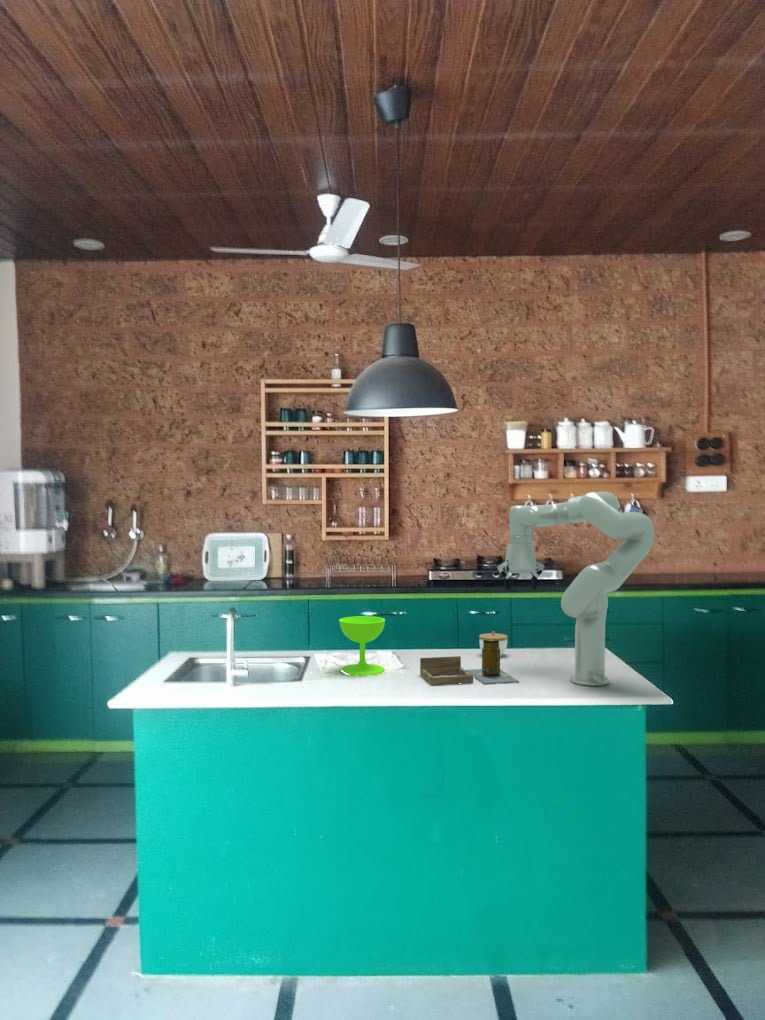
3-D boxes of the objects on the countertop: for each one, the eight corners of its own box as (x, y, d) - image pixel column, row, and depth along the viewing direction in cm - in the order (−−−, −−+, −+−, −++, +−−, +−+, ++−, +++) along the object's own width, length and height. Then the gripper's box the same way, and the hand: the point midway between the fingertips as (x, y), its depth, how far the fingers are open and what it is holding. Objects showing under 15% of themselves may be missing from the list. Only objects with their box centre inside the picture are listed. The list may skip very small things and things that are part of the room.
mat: (518, 682, 277) (518, 681, 277) (483, 684, 275) (483, 682, 275) (498, 669, 297) (498, 668, 297) (465, 671, 294) (465, 669, 294)
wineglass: (377, 677, 285) (377, 624, 285) (332, 674, 290) (332, 622, 289) (390, 667, 300) (390, 617, 300) (348, 665, 305) (348, 615, 305)
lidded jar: (500, 652, 327) (500, 628, 327) (512, 658, 317) (512, 633, 316) (474, 654, 324) (474, 629, 324) (485, 659, 314) (485, 634, 314)
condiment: (491, 671, 291) (491, 637, 291) (509, 676, 285) (509, 640, 284) (475, 674, 287) (475, 639, 286) (494, 679, 280) (494, 643, 280)
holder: (473, 683, 276) (473, 665, 276) (431, 685, 273) (431, 667, 273) (459, 673, 291) (459, 656, 291) (420, 675, 288) (420, 657, 288)
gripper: (539, 539, 302) (539, 587, 302) (493, 540, 298) (493, 589, 298) (548, 540, 295) (548, 589, 295) (501, 541, 291) (501, 591, 291)
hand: (520, 589), depth 297 cm, fingers open, 9 cm apart
